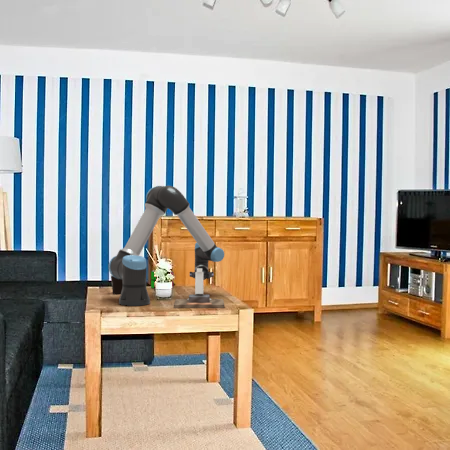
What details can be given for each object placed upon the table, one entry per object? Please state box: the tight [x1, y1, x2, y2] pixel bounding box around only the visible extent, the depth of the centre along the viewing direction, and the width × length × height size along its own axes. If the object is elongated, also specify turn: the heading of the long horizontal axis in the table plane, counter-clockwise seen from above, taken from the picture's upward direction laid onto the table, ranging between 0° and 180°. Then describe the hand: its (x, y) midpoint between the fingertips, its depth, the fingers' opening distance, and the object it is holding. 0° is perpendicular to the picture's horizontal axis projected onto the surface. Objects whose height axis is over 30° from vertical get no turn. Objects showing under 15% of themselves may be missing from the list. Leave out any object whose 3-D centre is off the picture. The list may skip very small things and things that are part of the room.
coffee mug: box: [110, 274, 123, 295], centre depth 347 cm, size 12×9×10 cm
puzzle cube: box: [150, 270, 174, 289], centre depth 367 cm, size 10×10×10 cm
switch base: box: [173, 294, 225, 309], centre depth 308 cm, size 24×18×4 cm
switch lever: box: [194, 268, 204, 295], centre depth 311 cm, size 4×3×13 cm, turn 92°
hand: (201, 277), depth 314 cm, fingers closed
